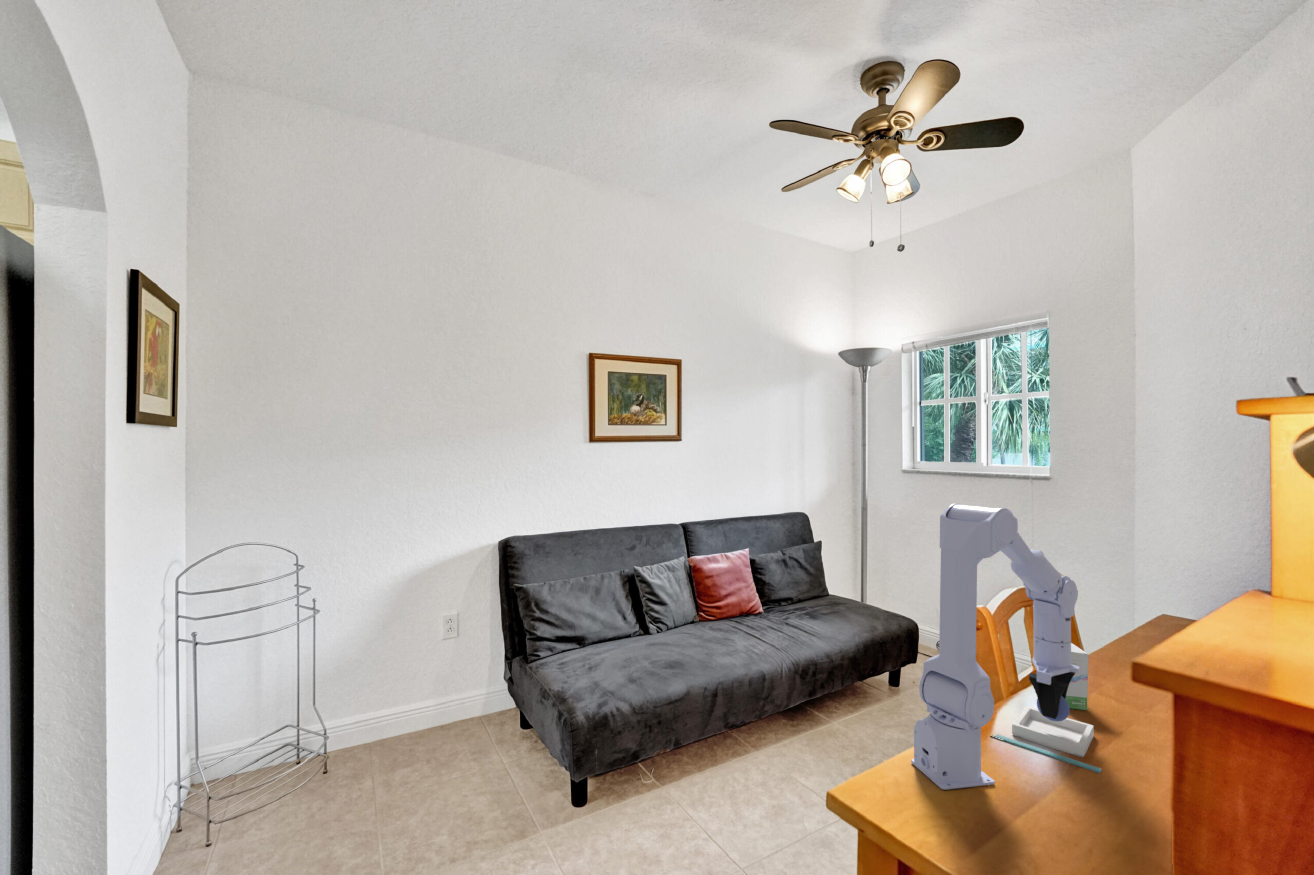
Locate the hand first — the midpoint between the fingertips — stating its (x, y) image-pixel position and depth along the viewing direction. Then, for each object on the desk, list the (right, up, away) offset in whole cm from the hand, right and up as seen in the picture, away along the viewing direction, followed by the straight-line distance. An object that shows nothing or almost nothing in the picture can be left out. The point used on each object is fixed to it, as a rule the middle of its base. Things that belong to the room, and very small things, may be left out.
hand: (1052, 711), depth 102 cm
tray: (0, -4, 0) cm, 4 cm away
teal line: (-6, -4, -6) cm, 9 cm away
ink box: (+13, -5, +15) cm, 20 cm away
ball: (0, +1, 0) cm, 1 cm away
